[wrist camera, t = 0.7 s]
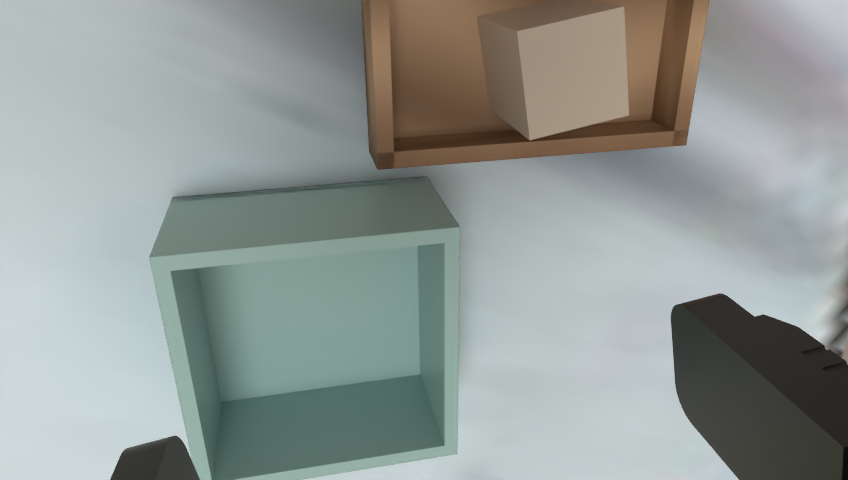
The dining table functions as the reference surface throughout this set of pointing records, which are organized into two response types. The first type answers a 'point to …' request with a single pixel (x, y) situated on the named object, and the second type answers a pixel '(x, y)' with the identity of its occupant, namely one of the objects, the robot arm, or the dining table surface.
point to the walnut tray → (467, 91)
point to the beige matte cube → (555, 65)
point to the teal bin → (312, 327)
